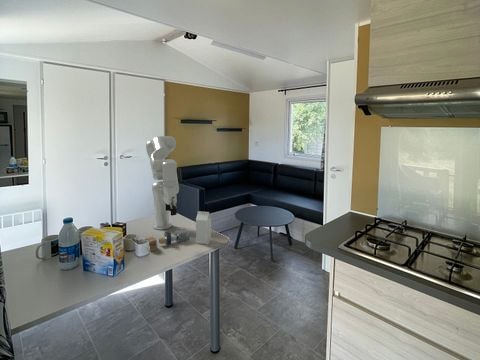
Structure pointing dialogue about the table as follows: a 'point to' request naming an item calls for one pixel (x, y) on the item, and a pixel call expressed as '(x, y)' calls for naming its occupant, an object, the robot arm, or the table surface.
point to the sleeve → (182, 235)
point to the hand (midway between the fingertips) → (171, 212)
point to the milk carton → (203, 227)
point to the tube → (168, 238)
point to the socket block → (152, 243)
